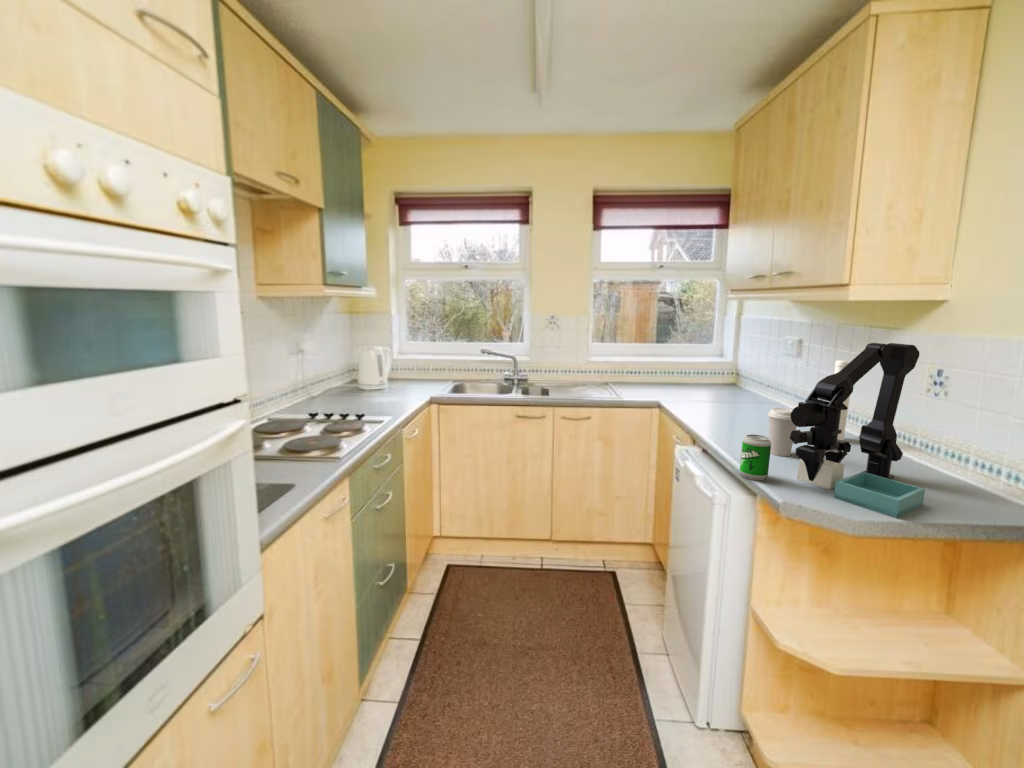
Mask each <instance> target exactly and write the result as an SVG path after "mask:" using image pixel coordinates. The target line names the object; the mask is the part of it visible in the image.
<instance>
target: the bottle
mask: <svg viewBox="0 0 1024 768" xmlns="http://www.w3.org/2000/svg"><path fill="white" fill-rule="evenodd" d="M847 364H849V362H848V361H847V360H843V359H842V360H840V359H839V360H835V363H834V373H833V374H836V373H838V372H839V371H841V370H842V369H843V368H844V367H845V366H846V365H847ZM850 398H851V395H850V396H849V397H848V398H847V399H846V400H845V401H844V402H843V404H844V405H845V406H846V407H847V408H848V409H847V410H841V416H840V423H839V429H840V430H842V431H841V434H838V437H837V439H839V440H843V441H845V436H846V435H845V432H846V424H847V418H848V410H849V404H850ZM824 401H825V400H824ZM828 402H830V401H828Z"/></svg>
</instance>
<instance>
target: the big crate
mask: <svg viewBox="0 0 1024 768" xmlns="http://www.w3.org/2000/svg"><path fill="white" fill-rule="evenodd" d="M861 472H862V473H861ZM861 472H859V473H857V474H856V473H855V474H853V475H850V476H848V477H843V479H842V480H839V481H836V485H835V488H834V494H833V498H834V499H837V500H841V501H843V502H846V503H848V504H849V503H850V504H852V505H855V506H858V507H862V508H865V509H867V510H871V511H873V512H877V513H880V514H882V515H885V516H889V517H892V518H894V519H897V518H900V517H902V516H903V515H905V514H909V513H910V512H912V511H913V510H916V509H918V508H920V507H922V506H923V503H924V499H925V498H924V497H925V491H926V488H923V487H920V486H916V485H914V484H913V485H912V484H910V483H906V482H901V481H899V480H894V479H892V478H891V479H888V478H884V477H880V476H877V475H873V474H870V473H866V472H863V471H861Z"/></svg>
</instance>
